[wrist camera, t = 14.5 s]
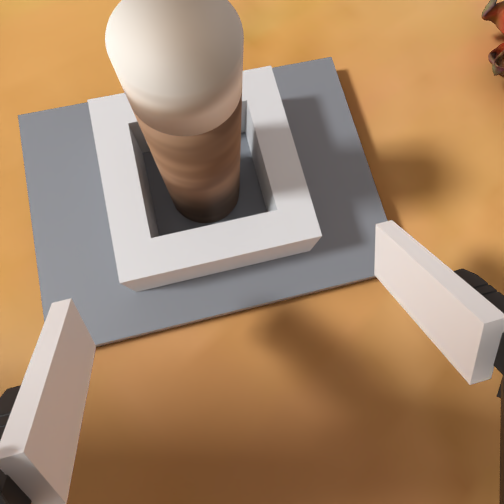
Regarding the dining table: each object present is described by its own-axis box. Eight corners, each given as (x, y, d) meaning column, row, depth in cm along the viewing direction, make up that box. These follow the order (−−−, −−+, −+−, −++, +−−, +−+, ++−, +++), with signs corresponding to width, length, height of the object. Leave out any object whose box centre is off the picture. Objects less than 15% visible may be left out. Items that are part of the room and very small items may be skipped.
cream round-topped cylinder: (178, 230, 24) (118, 107, 12) (165, 167, 25) (95, -9, 13) (246, 214, 25) (258, 81, 12) (230, 153, 26) (226, -30, 13)
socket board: (60, 355, 24) (15, 358, 19) (29, 127, 27) (-16, 80, 22) (394, 272, 26) (431, 256, 21) (326, 71, 29) (344, 16, 24)
